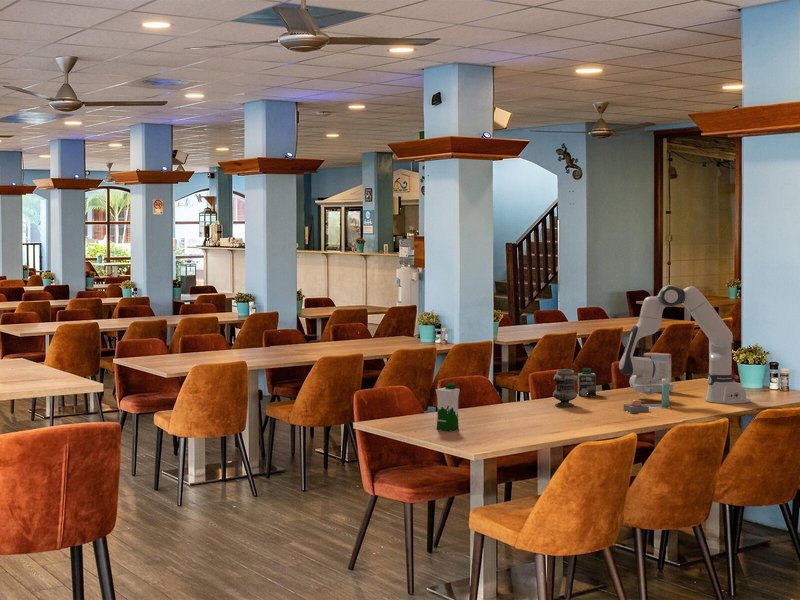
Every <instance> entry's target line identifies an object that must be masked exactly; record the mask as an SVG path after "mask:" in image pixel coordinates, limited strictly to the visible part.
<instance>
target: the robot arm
mask: <svg viewBox="0 0 800 600" xmlns="http://www.w3.org/2000/svg"><path fill="white" fill-rule="evenodd" d="M641 305H642V306H641V308H640V313H639V318H638V321H637V323H636V324H635V325H633V326H632V327H631V329H630V332H629V334H628V338H627V340H626V344H625V346H624V350H623V353H622V355H621V358H620V360H619V362H618V370H619V371H620V373H622V374H623V375H624V376H630V378H629V385H630V386H629V388H631V389H632V390H633V392H635V393H642V394H645V395H648V396H649V395H653V394H657V393H662V379H655V378H653V377H654V375H655V370H656V367H655V364H654V362H653V360H652V359H650V358H644V356H642V357H640V356H634V353H635V350H636V345H637V343H638V341H639V340H640V339H642V338H645V337H648V336H651V335H653V334H656V333H657V332H658V331H659V330H660V328H661V324H662V319H663V318H662V317H663V312H664V310H665V308H668V307H670V308H671V307H672V308H673V307H676V306H678V305H683V307H685V309H686V310H687V311H688V313H689V315H690V316H691V317H692V319H694V321H695V323H696V324H697V325H698V326H699V328H700V329H701V331H703V333H704V334H705V336H706V337H707V338H708V350H709V351H708V354H709V355H708V356H709V358H708V359H709V362H708V364H709V365H708V374H707V376H708V377H707V383H708V385H707V393H706V397H705V401H706V402H710V403H711V402H712V403H716V404H728V405H731V404H733V405H734V404H743V403H751V399H750V398H748V397H747V391H746V389H745V388H744V387H743V386H741V385H740V384H739V383H738V382H736V380H738V379H739V376H738V375H737V374H735V375H734V374H732V371H733V370H732V366H733V365H732V363H733V362H732V361H733V359H732V357H733V355H732V343H733V339H734V336H733V332H732V331H731V330H730V329H729V327H728V326H727V323H725V321H723V319H722V318H721V316H720V315H719V314H718V312H717V311H716V309H715V308H714V307H713V306H712V304H711V303H710V302H709V301H708V299H707V298H706V297H705V294H703V293H702V292H701V291H700V290H699V289H698V288H697V287H695V286H692V285H691V286H687V287H685V288H683V289H682V288H679V287H677V286H675V285H671V284H669V285H664V286H663V287H662V288H660V291H659V292H658V293H657V294H656V295H655V296H654V295H652V296H651V295H650V296H647V297H645V298H644V300H643V302H642V304H641ZM669 391H670V392H673V391H674V384H673V383H672V382H671V383H670V384H669Z"/></svg>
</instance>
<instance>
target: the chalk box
mask: <svg viewBox="0 0 800 600" xmlns="http://www.w3.org/2000/svg"><path fill="white" fill-rule="evenodd" d="M586 371H587V372H586ZM587 393H588V394H587ZM577 396H578V397H593V396H597V375H596V373H594V372H592V367H590V368H589V367H582V372H578V373H577Z"/></svg>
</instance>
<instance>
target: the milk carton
mask: <svg viewBox="0 0 800 600" xmlns="http://www.w3.org/2000/svg"><path fill="white" fill-rule="evenodd" d="M435 393H436V398H437V419H436V430H438V429H441V430H440V431H444V430H448V431H447V432H450V431H449V430H452V431H456V430H455V429H457V430H459V428H460V427H459V396H460V388H457V387H456V384H455V383H452V382H451V383H450V382H448V383H445V387H441V388H440V387H439V388H435Z"/></svg>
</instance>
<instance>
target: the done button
mask: <svg viewBox="0 0 800 600" xmlns="http://www.w3.org/2000/svg"><path fill="white" fill-rule="evenodd" d="M630 404H631V406H633V407H636V406H641V404H642V400H640V399H632V400H631V402H630Z"/></svg>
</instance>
